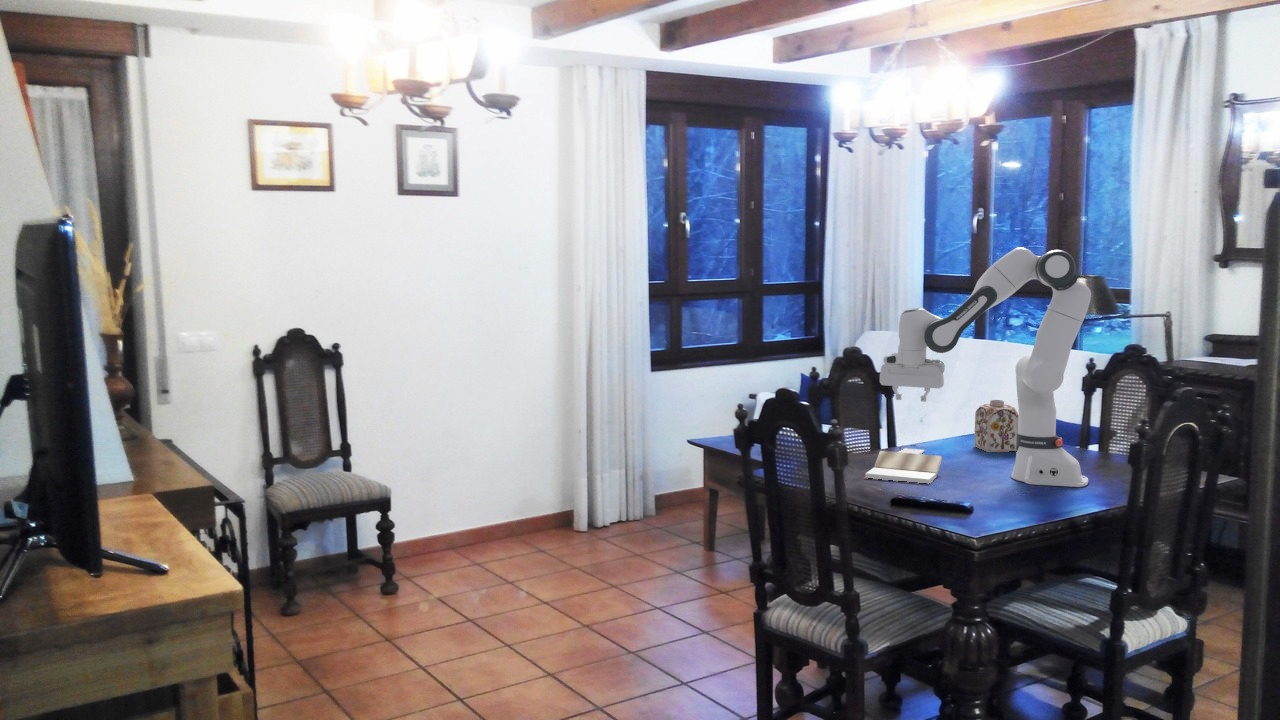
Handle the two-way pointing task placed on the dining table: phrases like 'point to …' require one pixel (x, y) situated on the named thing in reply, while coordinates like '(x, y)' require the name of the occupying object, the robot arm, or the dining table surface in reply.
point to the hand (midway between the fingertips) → (910, 400)
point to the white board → (900, 475)
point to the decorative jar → (996, 427)
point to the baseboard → (912, 450)
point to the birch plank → (908, 462)
